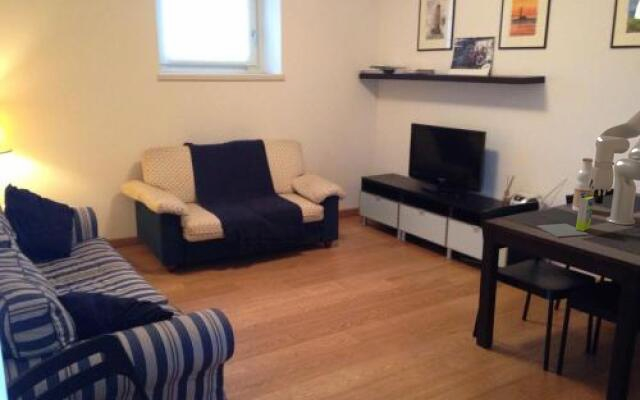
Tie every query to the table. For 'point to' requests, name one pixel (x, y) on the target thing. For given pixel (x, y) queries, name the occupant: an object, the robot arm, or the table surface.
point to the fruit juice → (582, 182)
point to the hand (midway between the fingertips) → (598, 203)
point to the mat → (562, 230)
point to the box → (584, 212)
